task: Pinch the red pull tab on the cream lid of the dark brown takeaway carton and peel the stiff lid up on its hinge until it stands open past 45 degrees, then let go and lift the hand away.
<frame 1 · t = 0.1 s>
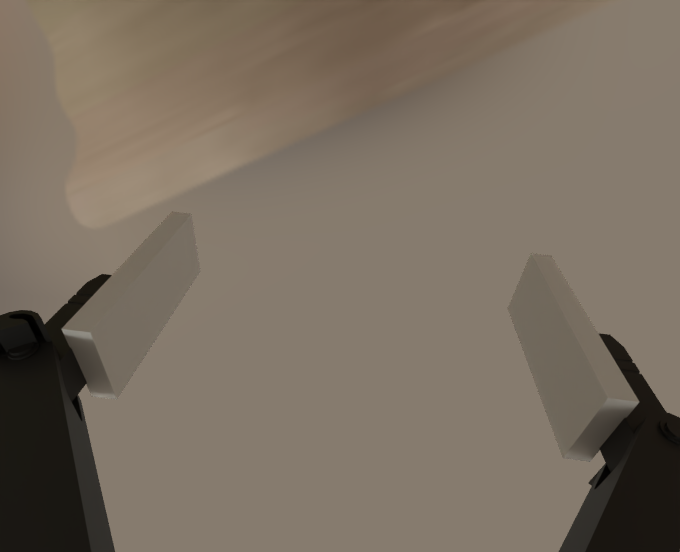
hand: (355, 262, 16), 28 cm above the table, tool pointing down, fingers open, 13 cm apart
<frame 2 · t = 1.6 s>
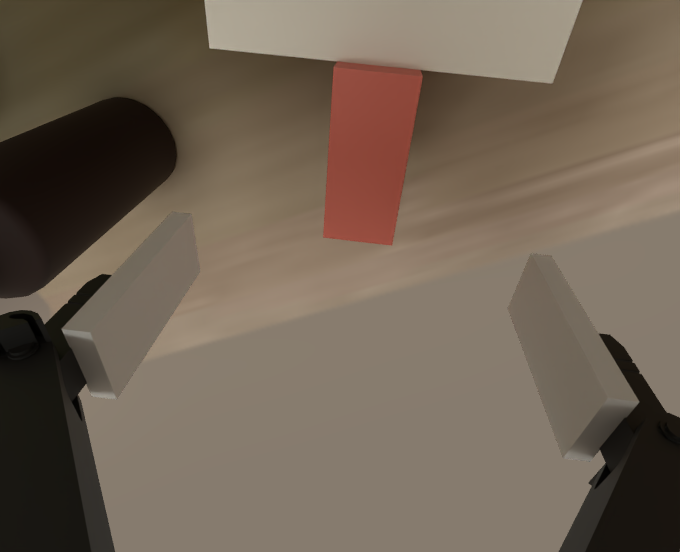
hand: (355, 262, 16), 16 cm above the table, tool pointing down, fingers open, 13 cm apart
bottle: (136, 142, 32), on the table
lid: (386, 2, 15), point 11 cm above the table, hinge at 0.0°
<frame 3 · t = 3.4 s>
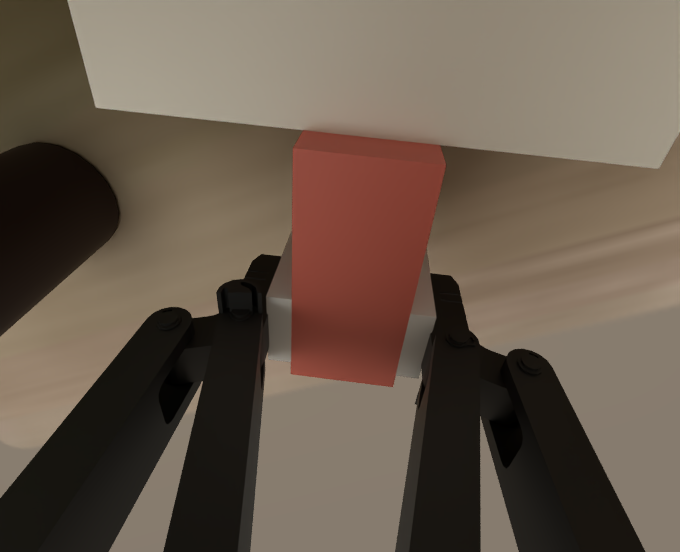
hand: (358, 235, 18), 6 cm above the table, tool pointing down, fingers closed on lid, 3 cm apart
bottle: (68, 194, 25), on the table
lid: (383, 40, 9), point 11 cm above the table, hinge at 0.0°, touching gripper
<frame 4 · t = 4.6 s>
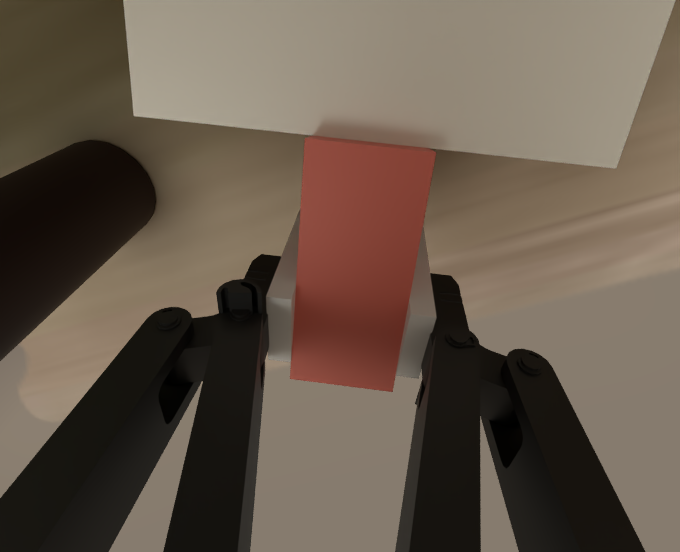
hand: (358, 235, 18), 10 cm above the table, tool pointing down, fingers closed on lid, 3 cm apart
bottle: (112, 185, 29), on the table
lid: (380, 56, 11), point 13 cm above the table, hinge at 13.2°, touching gripper
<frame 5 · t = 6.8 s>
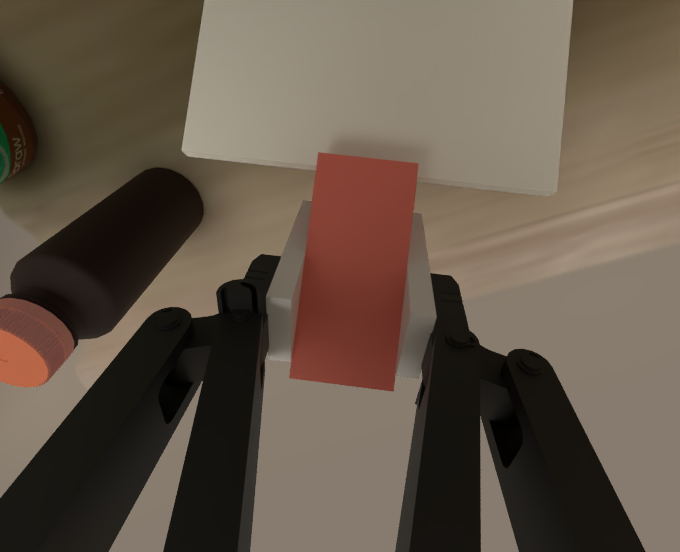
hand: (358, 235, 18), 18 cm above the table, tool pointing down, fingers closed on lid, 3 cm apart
food container: (16, 132, 36), on the table
bottle: (170, 200, 38), on the table
lid: (373, 110, 15), point 17 cm above the table, hinge at 40.0°, touching gripper
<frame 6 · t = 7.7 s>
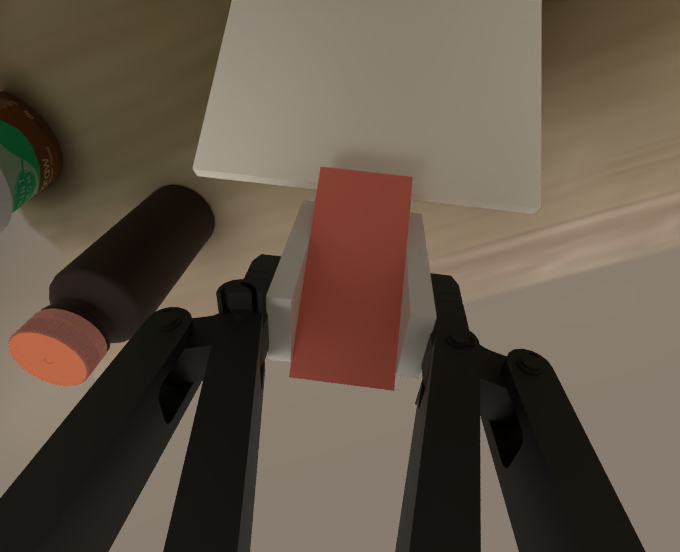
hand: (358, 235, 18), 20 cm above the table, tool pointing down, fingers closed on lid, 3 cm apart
food container: (43, 152, 39), on the table
bottle: (183, 214, 41), on the table
lid: (370, 135, 17), point 18 cm above the table, hinge at 50.0°, touching gripper
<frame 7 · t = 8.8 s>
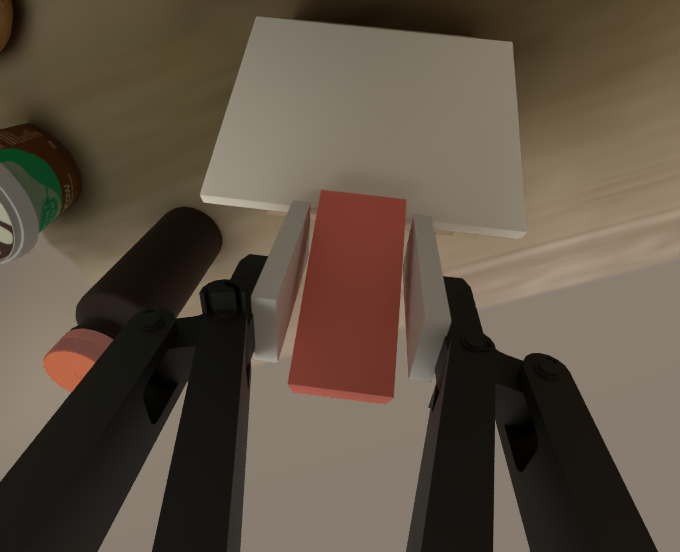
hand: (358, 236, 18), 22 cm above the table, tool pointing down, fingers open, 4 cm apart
food container: (63, 177, 42), on the table
bottle: (193, 233, 45), on the table
lid: (366, 167, 18), point 19 cm above the table, hinge at 60.0°
carton: (373, 108, 35), on the table
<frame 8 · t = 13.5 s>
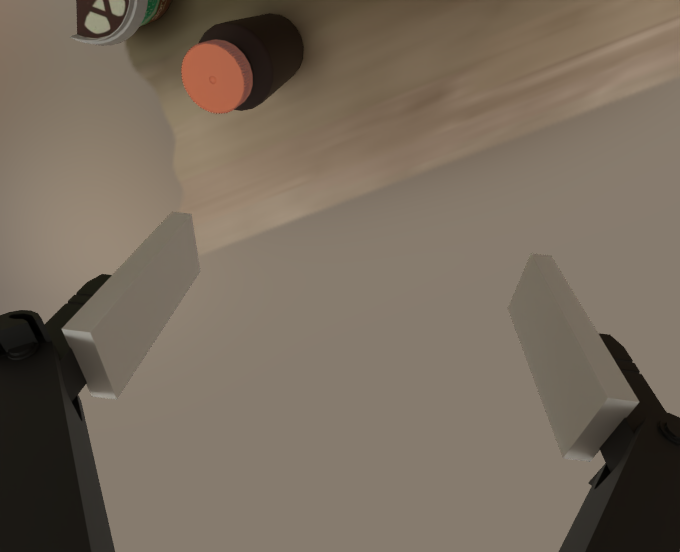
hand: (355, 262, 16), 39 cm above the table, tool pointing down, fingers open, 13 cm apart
bottle: (275, 48, 47), on the table
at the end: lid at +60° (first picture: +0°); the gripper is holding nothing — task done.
